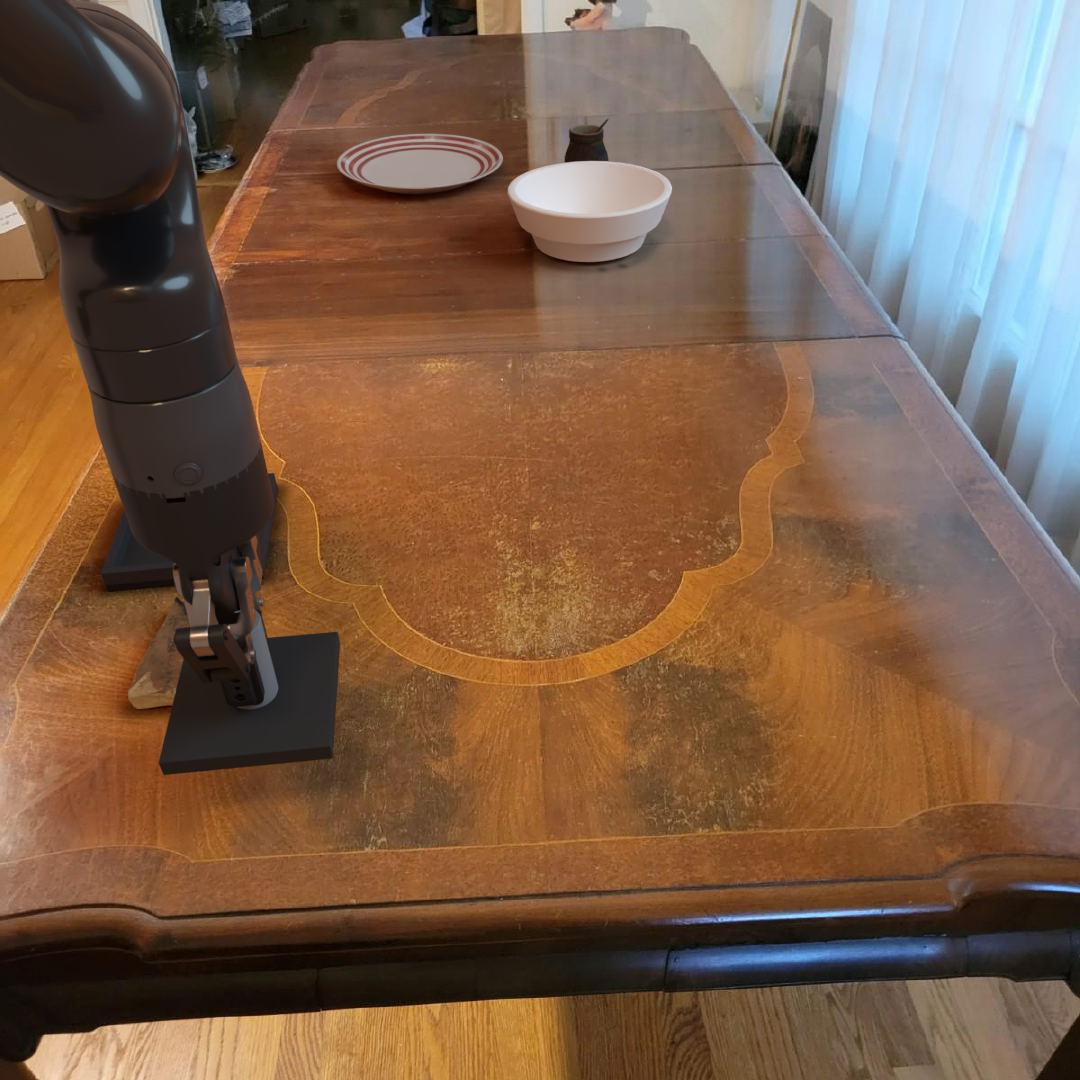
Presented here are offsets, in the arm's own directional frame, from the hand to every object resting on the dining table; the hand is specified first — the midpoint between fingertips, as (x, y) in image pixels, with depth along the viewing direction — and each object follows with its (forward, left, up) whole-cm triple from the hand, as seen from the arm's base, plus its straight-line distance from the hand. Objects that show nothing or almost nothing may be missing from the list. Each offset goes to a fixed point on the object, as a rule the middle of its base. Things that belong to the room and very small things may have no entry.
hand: (250, 679), depth 61 cm
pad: (0, 0, -2) cm, 2 cm away
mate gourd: (+39, +117, -10) cm, 124 cm away
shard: (-9, +11, -10) cm, 17 cm away
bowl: (+35, +89, -10) cm, 96 cm away
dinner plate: (+12, +124, -10) cm, 125 cm away
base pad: (-10, +28, -9) cm, 31 cm away
